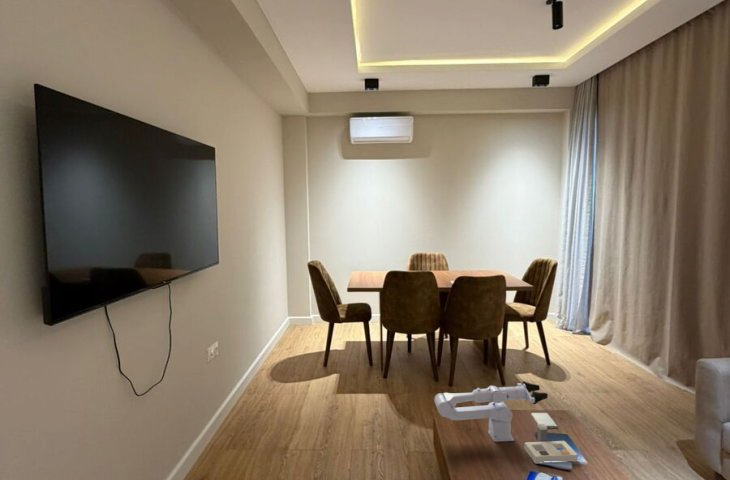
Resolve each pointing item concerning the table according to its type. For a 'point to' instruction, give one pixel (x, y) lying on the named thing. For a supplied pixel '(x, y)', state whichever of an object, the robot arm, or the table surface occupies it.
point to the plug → (541, 433)
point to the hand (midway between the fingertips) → (543, 391)
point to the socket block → (550, 451)
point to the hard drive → (544, 420)
